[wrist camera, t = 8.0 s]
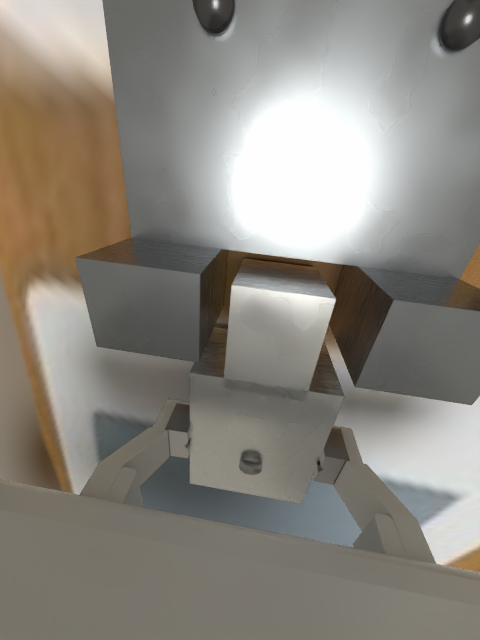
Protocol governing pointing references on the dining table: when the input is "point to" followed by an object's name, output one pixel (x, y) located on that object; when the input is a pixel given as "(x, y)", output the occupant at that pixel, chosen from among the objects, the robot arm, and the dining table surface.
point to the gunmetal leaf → (300, 175)
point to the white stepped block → (265, 385)
